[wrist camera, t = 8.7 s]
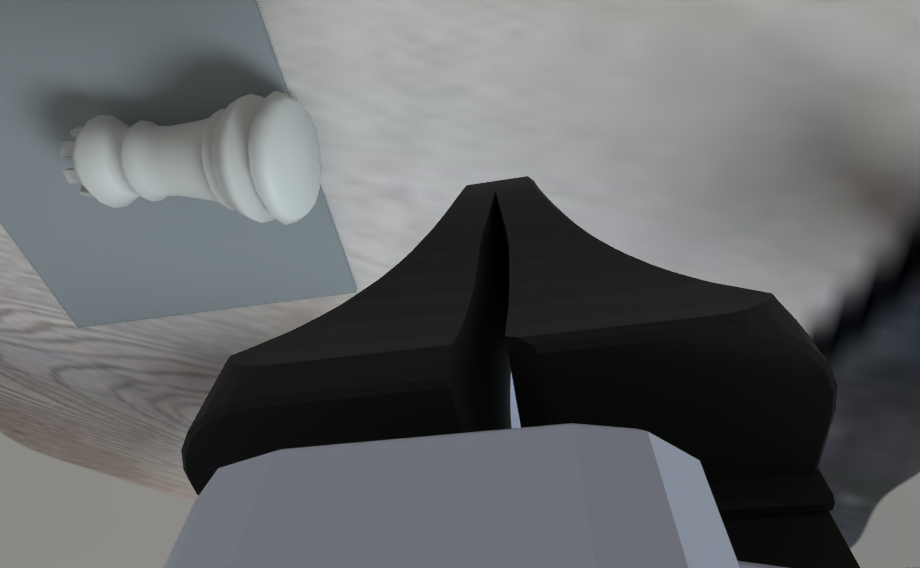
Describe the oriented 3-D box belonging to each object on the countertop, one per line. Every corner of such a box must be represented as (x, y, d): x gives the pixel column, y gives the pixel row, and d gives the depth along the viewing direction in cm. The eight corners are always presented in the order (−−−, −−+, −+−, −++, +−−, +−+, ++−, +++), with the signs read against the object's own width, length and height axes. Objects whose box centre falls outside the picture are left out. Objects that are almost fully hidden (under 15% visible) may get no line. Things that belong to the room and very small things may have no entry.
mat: (357, 288, 25) (355, 292, 25) (81, 323, 27) (78, 327, 27) (202, -152, 16) (198, -153, 16) (-194, -54, 18) (-203, -53, 18)
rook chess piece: (267, 219, 17) (34, 218, 18) (324, 230, 21) (134, 229, 22) (268, 69, 17) (33, 78, 18) (325, 111, 21) (134, 117, 22)
